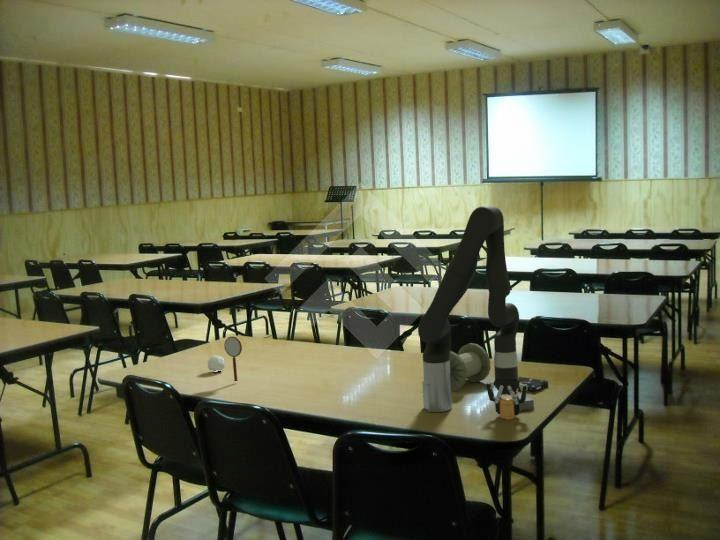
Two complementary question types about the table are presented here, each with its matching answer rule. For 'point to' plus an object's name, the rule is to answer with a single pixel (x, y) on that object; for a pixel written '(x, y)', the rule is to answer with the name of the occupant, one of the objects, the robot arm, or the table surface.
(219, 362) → the ball
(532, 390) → the disk drive
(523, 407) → the grey piece
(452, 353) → the spool
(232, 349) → the magnifying glass
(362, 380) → the table surface
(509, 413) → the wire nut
